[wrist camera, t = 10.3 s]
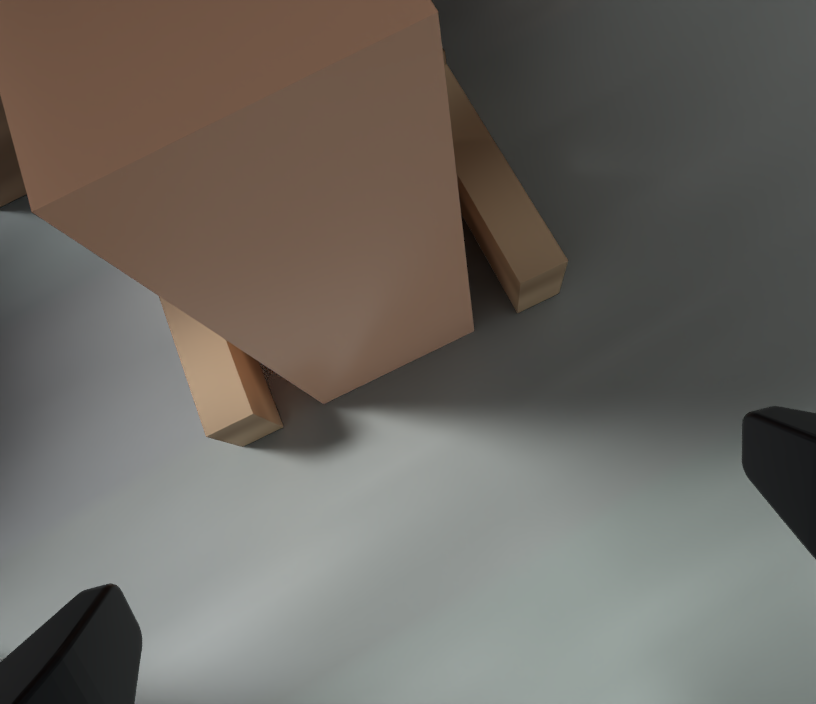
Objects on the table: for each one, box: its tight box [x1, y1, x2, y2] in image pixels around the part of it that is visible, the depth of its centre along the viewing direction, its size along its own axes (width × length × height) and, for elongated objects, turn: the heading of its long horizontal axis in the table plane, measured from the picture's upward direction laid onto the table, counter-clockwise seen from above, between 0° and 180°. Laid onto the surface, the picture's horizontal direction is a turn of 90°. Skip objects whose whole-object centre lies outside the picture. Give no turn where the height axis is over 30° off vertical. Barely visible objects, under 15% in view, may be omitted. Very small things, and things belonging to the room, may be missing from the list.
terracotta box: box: [0, 0, 474, 404], centre depth 14 cm, size 6×6×12 cm
